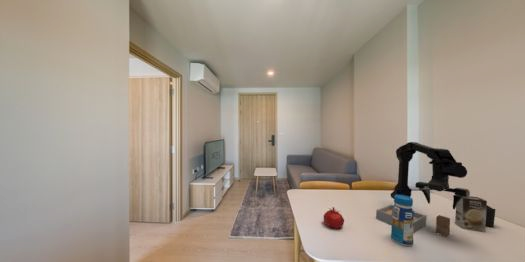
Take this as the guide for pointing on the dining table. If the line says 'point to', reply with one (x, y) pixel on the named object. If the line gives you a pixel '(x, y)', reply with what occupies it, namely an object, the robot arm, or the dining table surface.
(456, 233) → the dining table surface
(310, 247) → the dining table surface
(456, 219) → the coffee box
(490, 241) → the dining table surface
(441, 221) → the walnut peg
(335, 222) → the pomegranate
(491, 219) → the pen holder
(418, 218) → the box
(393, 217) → the beverage bottle
